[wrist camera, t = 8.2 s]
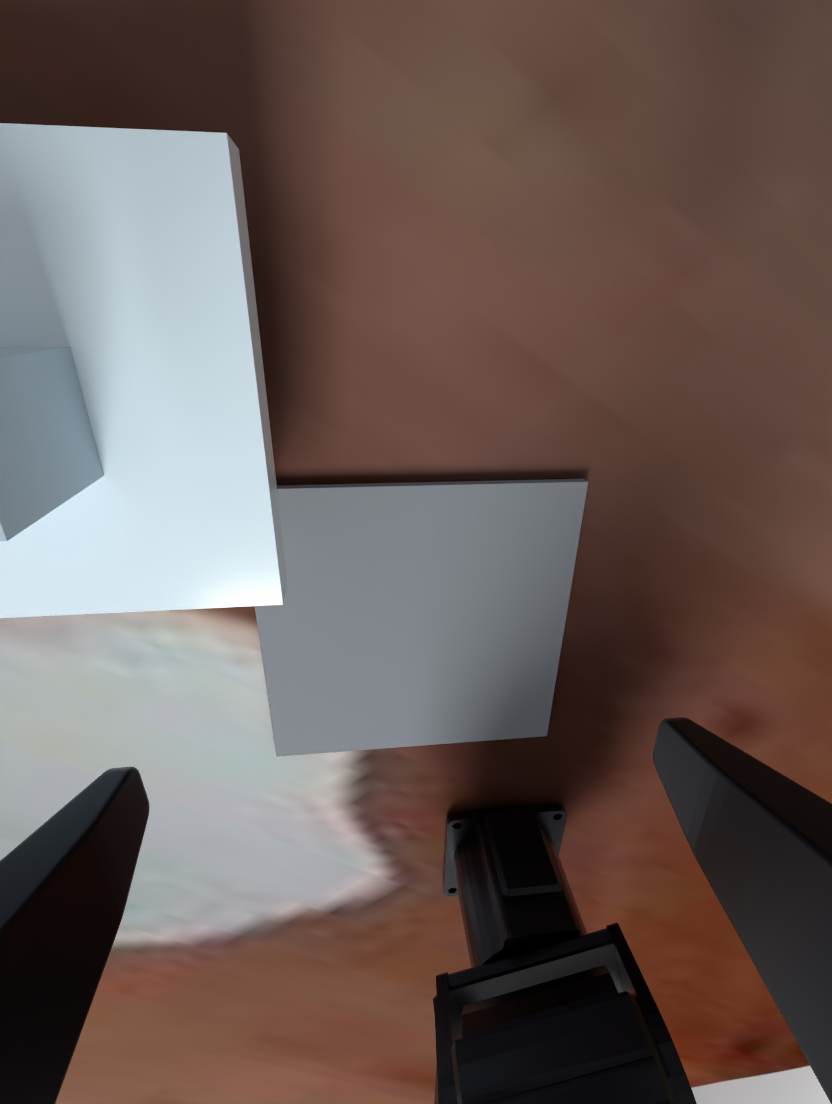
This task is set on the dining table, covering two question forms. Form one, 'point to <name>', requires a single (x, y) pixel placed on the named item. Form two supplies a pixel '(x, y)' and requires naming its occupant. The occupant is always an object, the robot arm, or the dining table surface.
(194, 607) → the lid
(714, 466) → the dining table surface
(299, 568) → the mat
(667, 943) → the dining table surface
